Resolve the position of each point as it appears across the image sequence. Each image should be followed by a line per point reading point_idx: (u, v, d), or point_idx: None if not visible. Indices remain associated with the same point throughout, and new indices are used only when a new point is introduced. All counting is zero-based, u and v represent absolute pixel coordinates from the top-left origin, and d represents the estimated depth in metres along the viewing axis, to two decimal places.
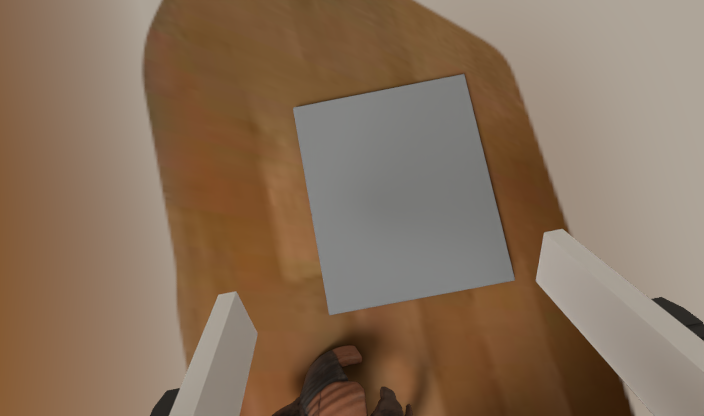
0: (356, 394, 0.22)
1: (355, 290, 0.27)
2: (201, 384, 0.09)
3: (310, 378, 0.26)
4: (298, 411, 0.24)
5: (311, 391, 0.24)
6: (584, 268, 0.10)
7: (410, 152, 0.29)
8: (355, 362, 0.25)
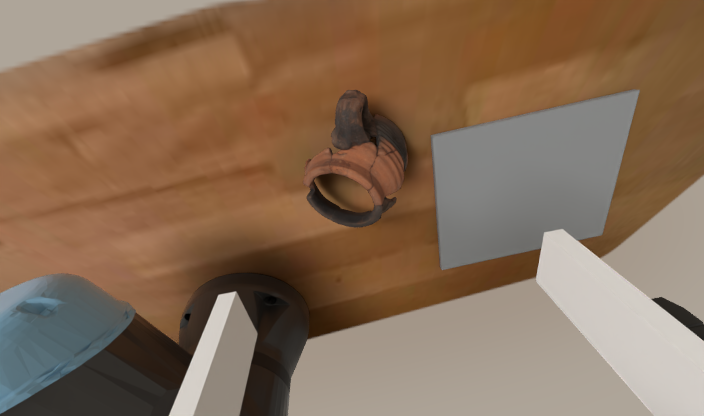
0: (400, 183, 0.26)
1: (451, 159, 0.30)
2: (201, 384, 0.09)
3: (389, 127, 0.27)
4: (369, 123, 0.25)
5: (389, 136, 0.26)
6: (584, 268, 0.10)
7: (555, 199, 0.34)
8: None
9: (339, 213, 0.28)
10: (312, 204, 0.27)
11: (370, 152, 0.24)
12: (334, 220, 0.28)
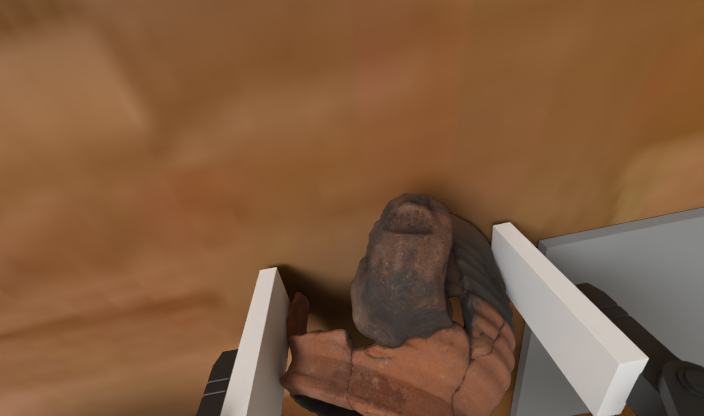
0: (505, 390, 0.11)
1: (572, 282, 0.15)
2: (258, 343, 0.10)
3: (475, 247, 0.12)
4: None
5: (484, 282, 0.11)
6: (521, 257, 0.11)
7: None
8: None
9: None
10: None
11: (454, 355, 0.09)
12: None
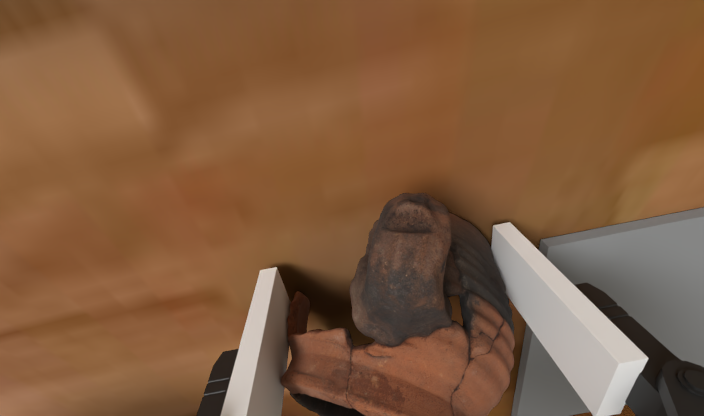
0: None
1: (573, 281, 0.16)
2: (258, 343, 0.10)
3: (474, 247, 0.12)
4: None
5: (483, 281, 0.11)
6: (521, 257, 0.11)
7: None
8: None
9: None
10: None
11: (454, 354, 0.09)
12: None
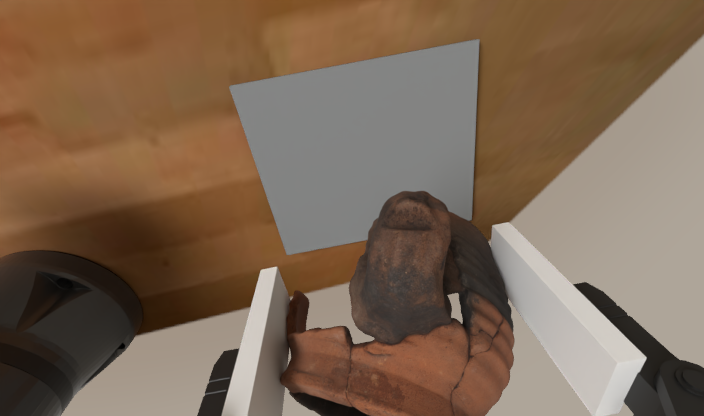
0: (504, 387, 0.11)
1: (261, 117, 0.25)
2: (259, 343, 0.10)
3: (474, 245, 0.12)
4: None
5: (483, 279, 0.11)
6: (520, 257, 0.11)
7: (405, 174, 0.29)
8: None
9: (358, 409, 0.14)
10: None
11: (453, 351, 0.09)
12: None
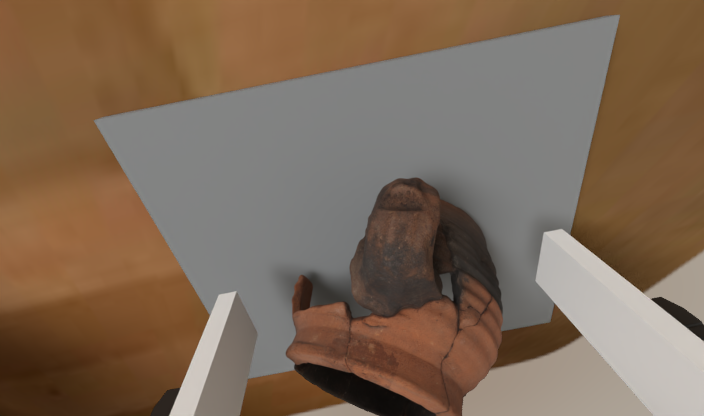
0: (493, 363, 0.12)
1: (171, 176, 0.13)
2: (202, 384, 0.09)
3: (467, 231, 0.13)
4: None
5: (474, 262, 0.12)
6: (583, 268, 0.10)
7: None
8: None
9: (358, 385, 0.15)
10: None
11: (444, 324, 0.10)
12: (347, 401, 0.14)
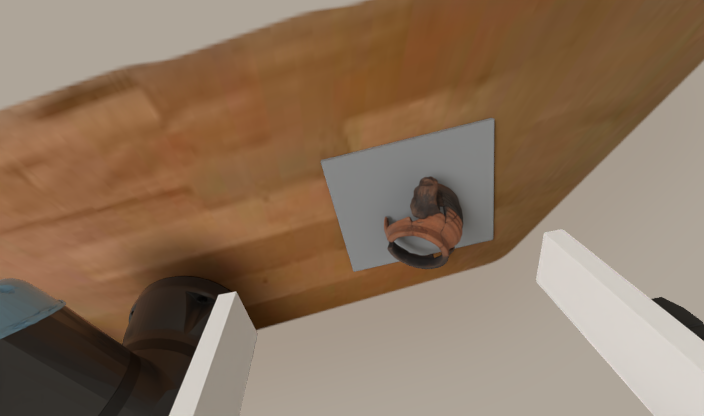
0: (459, 238, 0.35)
1: (340, 179, 0.36)
2: (201, 384, 0.09)
3: (449, 194, 0.36)
4: (436, 195, 0.34)
5: (451, 204, 0.34)
6: (584, 268, 0.10)
7: (442, 210, 0.39)
8: None
9: (410, 258, 0.38)
10: (391, 252, 0.37)
11: (440, 220, 0.33)
12: (406, 263, 0.37)
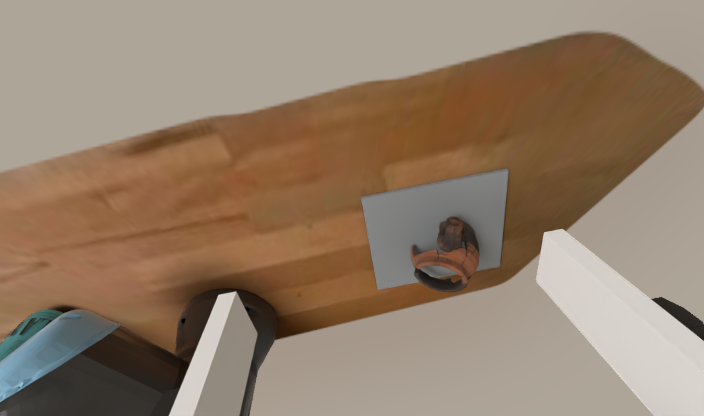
0: (476, 268, 0.41)
1: (376, 213, 0.42)
2: (201, 384, 0.09)
3: (468, 230, 0.42)
4: None
5: (470, 239, 0.41)
6: (584, 268, 0.10)
7: None
8: None
9: (432, 282, 0.44)
10: (417, 277, 0.43)
11: (463, 253, 0.39)
12: (429, 286, 0.44)
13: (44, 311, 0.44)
